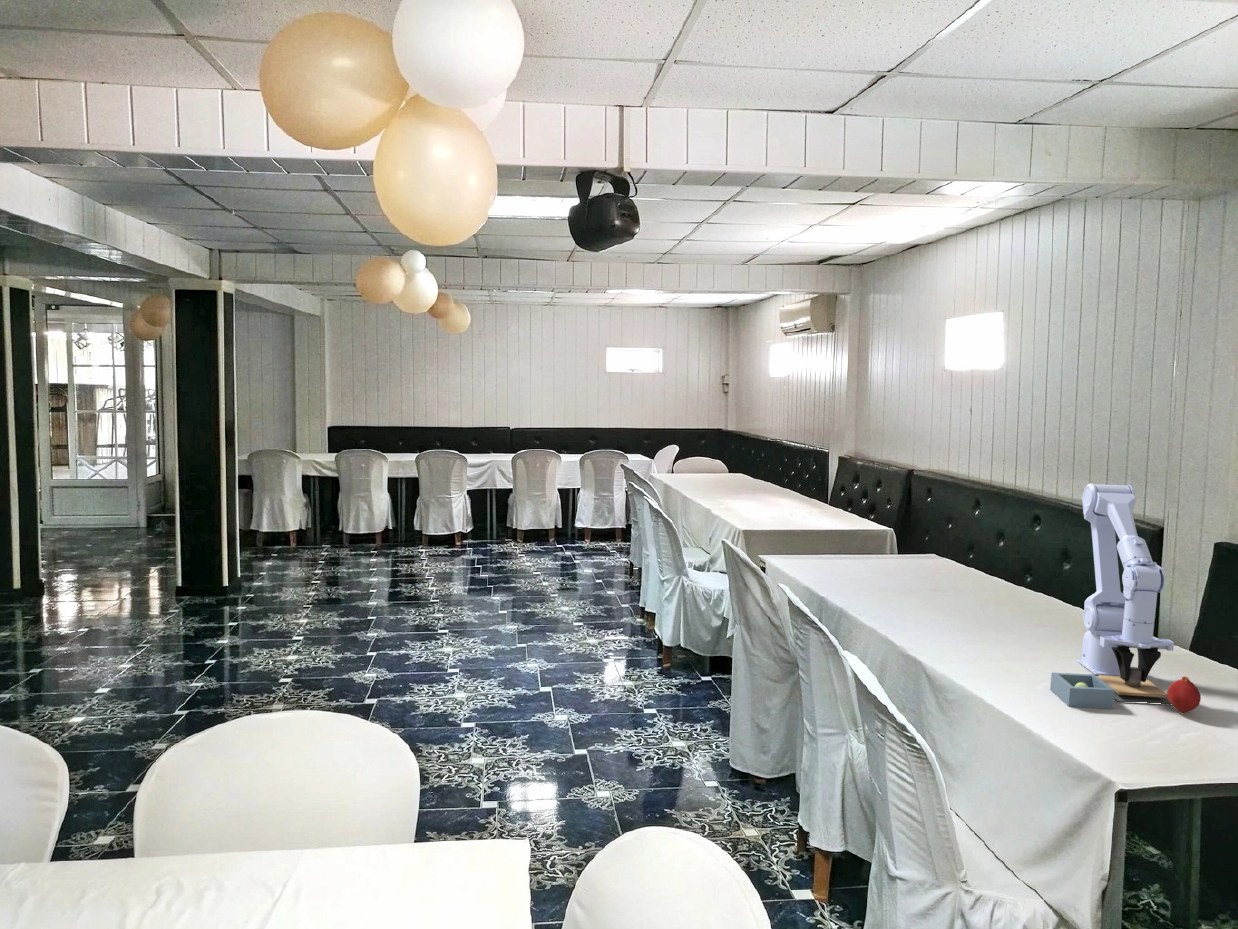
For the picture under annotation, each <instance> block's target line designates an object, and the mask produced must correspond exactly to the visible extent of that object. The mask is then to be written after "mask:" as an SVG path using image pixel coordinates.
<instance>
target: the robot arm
mask: <svg viewBox="0 0 1238 929" xmlns="http://www.w3.org/2000/svg"><path fill="white" fill-rule="evenodd" d="M1081 501H1082V511H1083V512H1082V513H1083V519H1084V520H1085V521H1088V523H1090V529H1091V539H1092V552H1093V554H1092V555H1093V564H1094V566H1093V567H1094V576H1095V587H1096V591H1095V592H1094V593H1092V594H1091V595H1090V596H1088V597H1087V598H1086V599H1085V600H1084V610H1083V615H1082V618H1083V619H1082V620H1083V624H1084V626H1085V628H1086V629H1087V630H1086V632H1085V633H1084V634H1083V638H1082V646H1081V647H1082V649H1081V659H1080V658H1079V659H1077V662H1078V663H1079V664H1080V665H1082V666H1083V667H1084V668H1086V669H1087V671H1088V670H1089V671H1090V672H1092V673H1093V674H1094V675H1095V676H1098V675H1106V676H1120V678H1121V679H1123V680H1124V681H1128V680H1129V675H1130V667H1132V666H1131V665H1132V662H1133V658H1134V656H1135V653H1134V652H1132V651H1131V649H1137V660H1138V662H1137V668H1140V669H1142V677H1141V681H1142V682H1145V681H1146V679H1148V676H1149V674H1150V672H1151V670H1152V669H1153V666H1154V665H1155V664H1156V662H1157V661H1158V660H1159V659H1161V656H1162V652H1161V651H1159V650H1166V651H1169V652H1173V651H1174V646H1175V642H1174V641H1172V640H1171V639H1169V638H1168V639H1166V638H1158V637H1154V629H1155V619H1156V611H1157V610H1156V609H1157V599H1158V593H1162V591H1163V589H1164V587H1165V581H1166V580H1165V574H1164V570H1163V568H1162V567H1161V566H1160V565H1158V563H1157V562H1156V561H1153V559H1152V556H1151V553H1150V550H1149V548H1148V545H1147V542H1146V540H1145V539H1144V538H1142V537H1140V536H1138V533H1137V528H1136V524H1135V519H1134V514H1133V511H1134V509H1135V505H1136V502H1137V494H1136V490H1135V489H1134V487H1133V486H1132V485H1131V484H1126V485H1122V484H1101V483H1100V484H1099V483H1090V482H1089V483H1088V484H1087V485H1086V486H1085V487H1084V490H1083V493H1082V497H1081ZM1116 535H1117V537H1118V539H1119V541H1118V542H1117V539H1116ZM1118 555H1119V558H1120V561H1121V564H1122V567H1123V572H1122V575H1121V576H1122V577H1121V578H1122V579H1121V581H1122V585H1123V591H1121V583H1120V582H1121V581H1120V573H1119V572H1120V570H1119V569H1120V568H1119V559H1118ZM1092 673H1091V674H1092Z"/></svg>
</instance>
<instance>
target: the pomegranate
mask: <svg viewBox="0 0 1238 929" xmlns="http://www.w3.org/2000/svg"><path fill="white" fill-rule="evenodd" d="M1166 693H1167V698H1168V700H1169V702H1170V703H1171V704H1172V705H1171V706H1172V707H1173V708H1174V709H1176V711H1177V712H1178V713H1179V712H1180V714H1182V713H1183V714H1186V713H1189V712H1192V711H1194V710H1195V709H1196V708H1198V707H1199V705H1200V703H1201V692H1200V690H1199V689H1198V687H1197V686H1196V685H1195V684H1194V682H1192V681H1191V680H1190V679H1189V677H1188V676H1185V675H1184V676H1181V679H1177V680H1175V681H1173V682H1172V683H1171V684H1169V686H1168V688H1167V692H1166Z"/></svg>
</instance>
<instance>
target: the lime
mask: <svg viewBox="0 0 1238 929" xmlns="http://www.w3.org/2000/svg"><path fill="white" fill-rule="evenodd" d="M1075 687H1088V686H1087V685H1086V684H1085V683H1081V682H1080V683H1077V684H1076V685H1075Z"/></svg>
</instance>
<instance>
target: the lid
mask: <svg viewBox="0 0 1238 929" xmlns="http://www.w3.org/2000/svg"><path fill="white" fill-rule="evenodd" d="M1097 677H1098V678H1099V679H1101V680H1102V681H1103V682H1105V683H1106V684H1107V685H1109V686H1110V687H1111V688H1113V689H1114V690H1115V692H1116V693H1117V694H1119V695H1132V696H1147V697H1163V698H1167V692H1165V691H1164V690H1162V689H1161V687H1159V686H1157V685H1156V684H1155V683H1153V682H1151V681H1150V680H1149V679H1148V678H1147V679H1146V681H1145V682H1142V681H1141V677H1142V669H1140V668H1138V666H1137V667H1136V666H1130V675H1129V680H1128V681H1124V680H1123V679H1121V678H1120V676H1108V675H1097Z"/></svg>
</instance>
